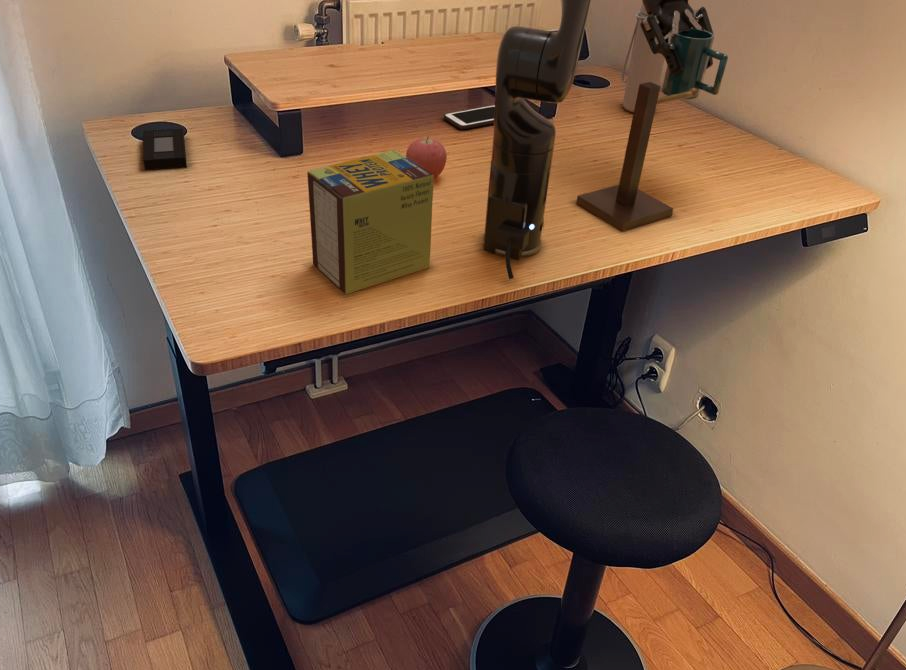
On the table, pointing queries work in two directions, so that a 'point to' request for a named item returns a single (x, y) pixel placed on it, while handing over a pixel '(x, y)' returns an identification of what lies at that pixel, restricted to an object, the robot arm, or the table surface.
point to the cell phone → (471, 117)
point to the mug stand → (633, 170)
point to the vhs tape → (164, 149)
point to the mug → (694, 64)
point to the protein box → (370, 219)
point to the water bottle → (640, 64)
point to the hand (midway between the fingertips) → (693, 70)
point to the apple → (428, 155)
